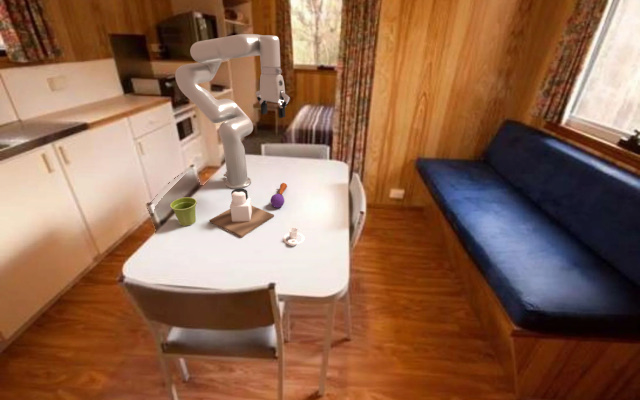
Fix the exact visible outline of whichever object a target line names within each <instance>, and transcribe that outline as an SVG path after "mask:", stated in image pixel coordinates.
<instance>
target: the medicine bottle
mask: <svg viewBox="0 0 640 400" xmlns="http://www.w3.org/2000/svg"><path fill="white" fill-rule="evenodd" d="M251 205H252V198H251V197H249V195H248V190H247V189H245V188H239V189H233V190H232V191H231V203H230V206H229V209H230V211H231V218H232V222H240V221H250V219H251V214H252V207H251Z"/></svg>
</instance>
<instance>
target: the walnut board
mask: <svg viewBox="0 0 640 400" xmlns="http://www.w3.org/2000/svg"><path fill="white" fill-rule="evenodd" d="M251 207H252V214H251V219H250V221H240V222H232V218H231V211H230V208H229V209H227V210H225V211H223V212H221V213H220V214H218V215H216V216H214V217H212V218H210V219H209V223H211V224H213V225H214V226H217V227H218V228H221V229H223V230H225V231H227V232H229V233H231V234H233V235H235V236H237V237H239V238H244V237H245V236H247V235H248V234H250V233H252V232H253V231H254V230H255V229H257V228H260V227H261V226H262V225H263V224H265V223H267V222H269V220H271V219H273V218H274V217H275V215H274V214H273V213H271V212H268V211H266V210H264V209H261V208H259V207H256V206H254V205H253V204H251Z"/></svg>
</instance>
